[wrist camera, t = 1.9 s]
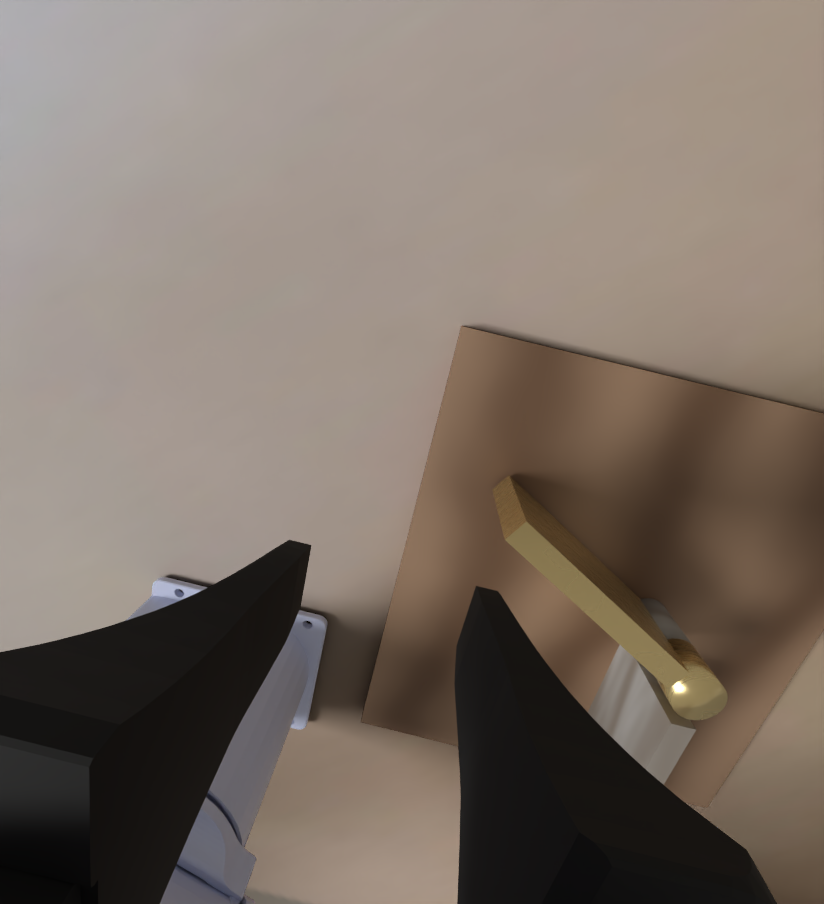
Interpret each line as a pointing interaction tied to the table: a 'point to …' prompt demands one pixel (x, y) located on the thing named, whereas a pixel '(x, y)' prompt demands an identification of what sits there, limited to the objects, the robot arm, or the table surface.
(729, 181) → the table surface
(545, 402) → the hinge base
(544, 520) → the hinge leaf
